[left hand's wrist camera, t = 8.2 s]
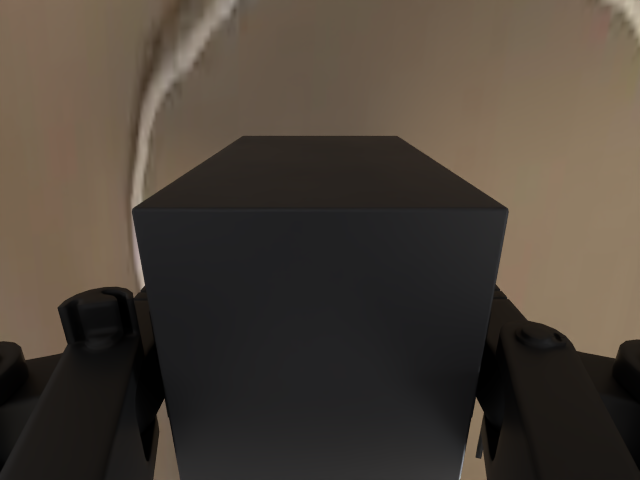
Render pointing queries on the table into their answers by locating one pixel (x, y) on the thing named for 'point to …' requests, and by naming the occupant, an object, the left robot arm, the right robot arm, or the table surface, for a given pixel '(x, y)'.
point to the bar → (320, 309)
